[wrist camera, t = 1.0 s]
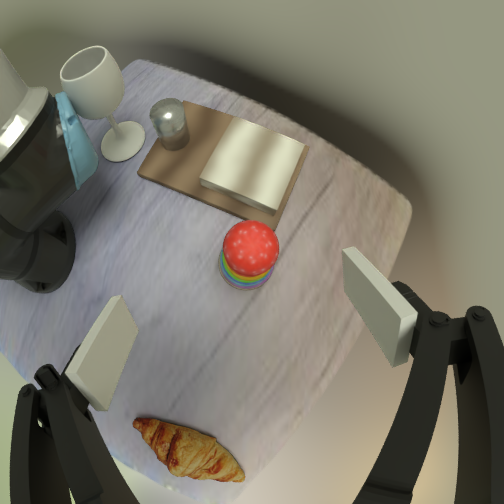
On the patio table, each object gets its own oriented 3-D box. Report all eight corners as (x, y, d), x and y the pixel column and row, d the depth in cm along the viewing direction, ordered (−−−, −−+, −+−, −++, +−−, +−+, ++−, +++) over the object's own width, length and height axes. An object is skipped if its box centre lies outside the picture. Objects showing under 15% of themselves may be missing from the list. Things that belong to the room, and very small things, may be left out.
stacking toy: (234, 227, 42) (238, 179, 23) (281, 252, 42) (320, 223, 23) (209, 273, 40) (191, 259, 22) (256, 299, 40) (278, 306, 22)
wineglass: (116, 171, 41) (64, 98, 20) (93, 143, 41) (45, 72, 21) (154, 139, 43) (127, 53, 22) (129, 114, 43) (99, 34, 22)
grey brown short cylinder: (155, 145, 41) (143, 119, 33) (170, 123, 42) (161, 95, 34) (180, 154, 41) (172, 128, 33) (195, 131, 42) (189, 102, 34)
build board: (139, 176, 42) (130, 165, 37) (184, 105, 44) (181, 90, 40) (273, 232, 42) (278, 225, 37) (307, 150, 44) (314, 138, 40)
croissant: (251, 454, 40) (268, 461, 33) (226, 494, 34) (240, 508, 27) (148, 398, 39) (147, 398, 33) (120, 440, 33) (115, 448, 27)
